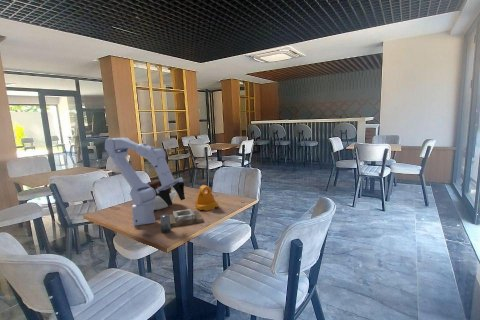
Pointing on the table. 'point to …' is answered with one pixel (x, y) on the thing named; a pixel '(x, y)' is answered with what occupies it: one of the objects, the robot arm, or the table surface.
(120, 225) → the table surface
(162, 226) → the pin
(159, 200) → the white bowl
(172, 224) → the nut plate
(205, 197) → the bracket
